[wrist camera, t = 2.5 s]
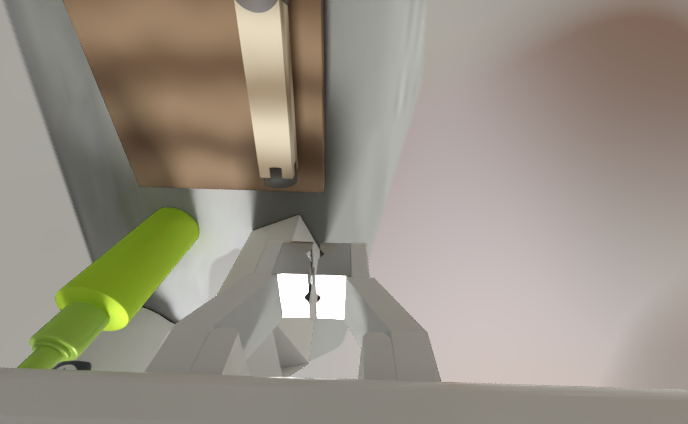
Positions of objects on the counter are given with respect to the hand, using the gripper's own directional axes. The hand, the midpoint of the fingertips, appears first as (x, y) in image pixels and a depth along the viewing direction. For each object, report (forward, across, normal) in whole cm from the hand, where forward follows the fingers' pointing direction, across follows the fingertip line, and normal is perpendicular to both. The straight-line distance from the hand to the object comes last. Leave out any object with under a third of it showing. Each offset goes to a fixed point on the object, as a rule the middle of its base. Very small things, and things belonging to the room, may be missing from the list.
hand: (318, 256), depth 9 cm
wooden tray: (+21, -12, +4) cm, 24 cm away
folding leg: (+18, -5, +3) cm, 20 cm away
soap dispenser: (+21, -22, -14) cm, 33 cm away
